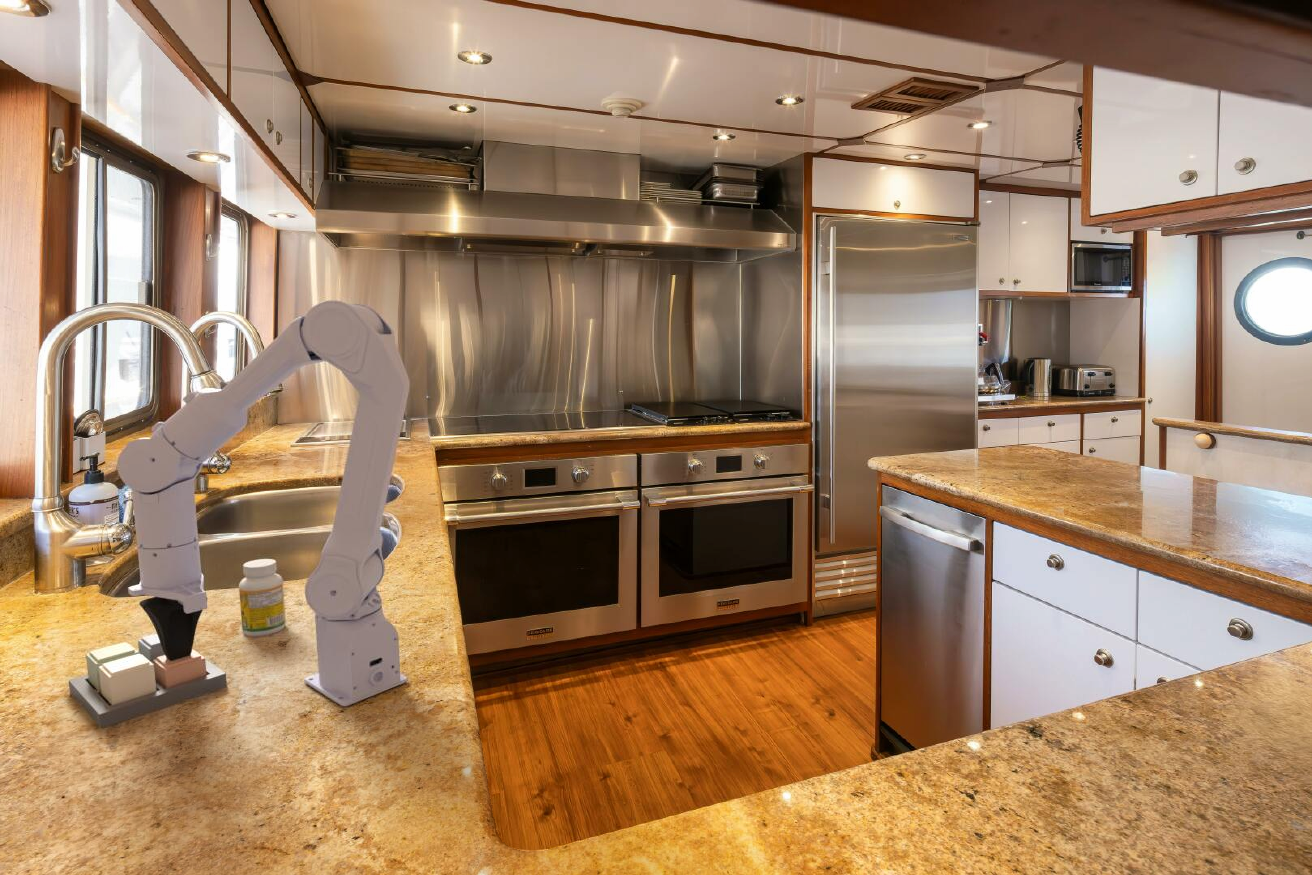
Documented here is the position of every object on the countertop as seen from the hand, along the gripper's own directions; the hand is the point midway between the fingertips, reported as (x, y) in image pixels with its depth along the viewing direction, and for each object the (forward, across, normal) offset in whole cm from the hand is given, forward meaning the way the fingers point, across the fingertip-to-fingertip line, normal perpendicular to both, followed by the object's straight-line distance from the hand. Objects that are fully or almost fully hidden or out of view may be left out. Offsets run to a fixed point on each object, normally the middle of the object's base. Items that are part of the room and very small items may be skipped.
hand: (178, 657), depth 83 cm
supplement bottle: (+4, -10, +14) cm, 18 cm away
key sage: (+2, -5, -5) cm, 7 cm away
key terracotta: (+3, 0, 0) cm, 3 cm away
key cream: (+2, 0, -5) cm, 6 cm away
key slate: (+2, -5, 0) cm, 6 cm away
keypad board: (+4, -2, -2) cm, 5 cm away
